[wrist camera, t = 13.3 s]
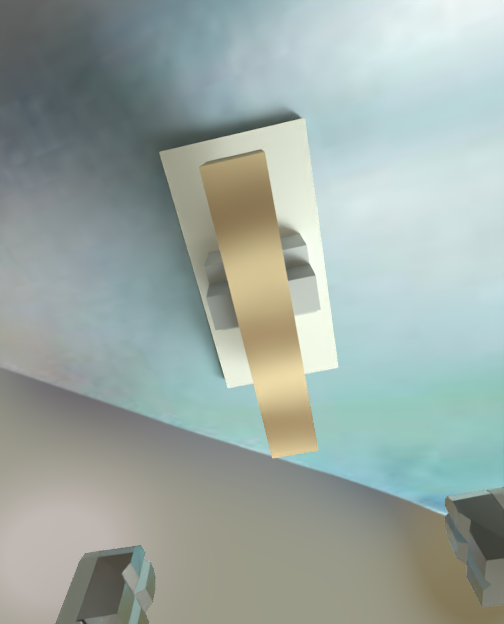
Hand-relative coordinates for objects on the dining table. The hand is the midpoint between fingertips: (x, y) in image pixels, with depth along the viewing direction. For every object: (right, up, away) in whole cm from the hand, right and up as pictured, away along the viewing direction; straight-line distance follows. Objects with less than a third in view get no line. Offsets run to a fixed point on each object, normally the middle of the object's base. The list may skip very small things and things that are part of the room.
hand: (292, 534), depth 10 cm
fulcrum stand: (0, +9, +20) cm, 22 cm away
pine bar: (0, +6, +14) cm, 15 cm away
